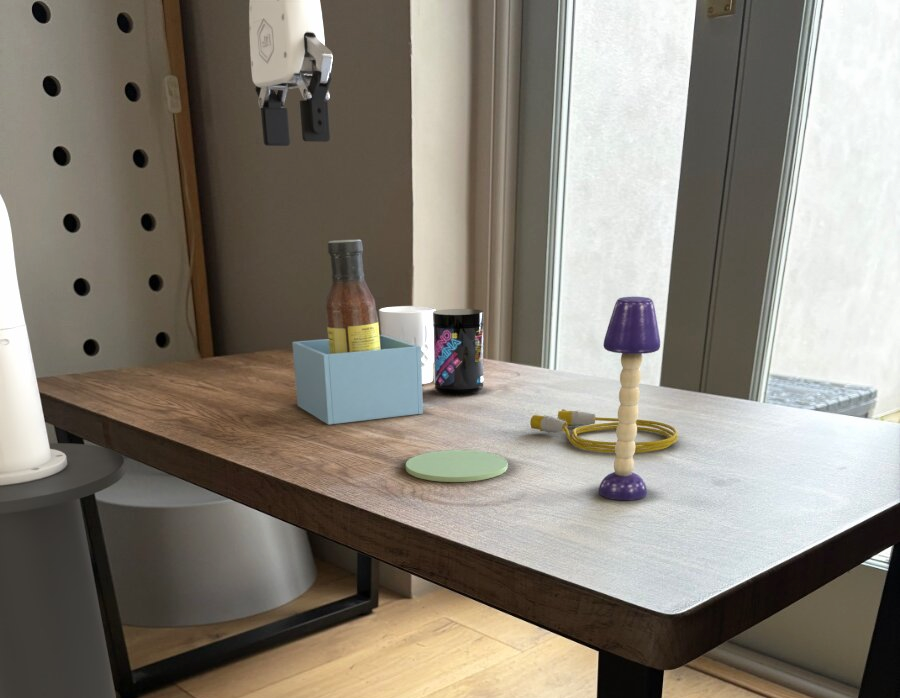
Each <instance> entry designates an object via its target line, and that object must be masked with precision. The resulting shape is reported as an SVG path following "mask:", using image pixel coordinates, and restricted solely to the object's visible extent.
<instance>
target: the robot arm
mask: <svg viewBox="0 0 900 698" xmlns="http://www.w3.org/2000/svg"><path fill="white" fill-rule="evenodd" d="M248 4H249V7H248V9H249V10H248V15H249V16H248V27H249V28H248V29H249V52H250V54H249V55H250V71H251V79H252V83H253V84H254V86H255V88H254V89H255V93H256V95H257V97H258V106H259V108H260V115H261V125H262V137H263V144H264V145H265V146H267V147H274V146H275V147H278V146H279V147H287V146H289V145H291V139H290V126H289V113H288V111H289V110H288V108H287V107H285V103H286V98H287V95H288V90H292V89H297V88H298V90H299V91H300V95H301V96H302V98H303V99H304V100H303V99H301V100H299V109H300V123H301V124H300V126H301V137H302V141H304V142H310V143H311V142H315V143H316V142H317V143H318V142H319V143H320V142H321V143H322V142H323V143H325V142H326V143H327V142H329V141H330V139H331V134H330V121H329V117H330V116H329V103H328V101H329V100H330V98H331V97H330V96H331V95H330V90H329V88H330V84H331V81H332V75H331V73H332V72H331V71H332V64H333V60H334V59H333V58H334V55H333V52H332V50H330V49H329V47H328V46H326V44H325V41H326V40H325V39H326V38H325V30H324V22H323V12H322V5H321V0H249V3H248ZM276 91H277V92H276ZM12 233H13V232H12V227H11V222H10V217H9V213H8V209H7V206H6V204H5V201H4V199H3V197H2V194H0V486H5V485H12V484H19V483H25V482H30V481H34V480H39V479H42V478H45V477H49V476H51V475H54V474H56V473H58V472H60V471H62V470H63V469H65V468H66V466H67V465H68V464H67V457H66V455H65V454H64V453H63V452H61V451H58V450H54V449H50V447H49V443H50V441H49V437H48V431H47V427H46V426H47V425H46V422H45V417H44V411H43V410H44V409H43V405H42V399H41V395H40V391H39V385H38V380H37V374H36V369H35V364H34V359H33V354H32V349H31V344H30V338H29V334H28V333H29V332H28V328H27V323H26V319H25V315H24V311H23V310H24V309H23V305H22V298H21V294H20V293H21V292H20V287H19V281H18V274H17V267H16V259H15V250H14V241H13V240H14V239H13V235H12Z"/></svg>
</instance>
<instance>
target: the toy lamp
mask: <svg viewBox="0 0 900 698" xmlns="http://www.w3.org/2000/svg"><path fill="white" fill-rule="evenodd" d="M605 332H606V333H605V336H604V340H603V349H604V350H606V351H608V352H611V353H615V354H621V356H620V364H621V367H622V369H621V371H620V374H619V383H620V385H621V387H620V389H619V393H618V401H619V404H620V405H619V406H618V409H617V418H618V420H619V421H618V422H619V423H618V425H616V426H617V429H615V434H616V438H617V440H616V445H614V446H615V453H614V454H615V456H616V457H615V459H614V462H613V470H614V471H613V472H610V473H608V474H607V475H605V476H604V478H603V479H602V480H601V482H600V484H599V487H598V494H599V495H601V497H603V498H606V499H610V500H617V501H635V500H641V499H643V498H645V497H647V495H648V491H647V490H648V489H647V485H646V482H645V481H644V479H643V478H642V477H641V476H640V475H639V474H637V473H635V472H634V471H633V470H634V467H635V460H634V455H635V454H636V453H635V439H636V437H637V434H638V430H637V427H638V426H637V425H636V423H637V422H636V420H638V418H639V414H640V413H639V411H640V410H639V406H638V403H639V401H640V397H641V392H640V388H639V385H640V383H641V380H642V372H641V368H640V367H641V366H642V363H643V354H652V353H656V352H658V351H659V350H660V349H661V337H660V331H659V325H658V318H657V313H656V308H655V302H654V300H653V299H651V297H645V296H624V297H619V298H618V299H616V301H615V303H614V307H613V309H612V313H611V316H610V319H609V323H608V326H607V329H606V331H605ZM635 422H636V423H635Z"/></svg>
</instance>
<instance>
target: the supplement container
mask: <svg viewBox="0 0 900 698" xmlns="http://www.w3.org/2000/svg"><path fill="white" fill-rule="evenodd" d="M484 325H485V322H484V311H483V310H482V309H475V308H447V309H446V308H445V309H438V310H435V311H433V342H434V362H433V380H434V383H433V385H434V388H435V391H436V392H437V393H438V394H440V395H444V396H454V397H457V396H459V397H461V396H472V395H476V394H479V393H481V392H482V390H483V389H484Z"/></svg>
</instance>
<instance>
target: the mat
mask: <svg viewBox="0 0 900 698" xmlns="http://www.w3.org/2000/svg"><path fill="white" fill-rule="evenodd" d="M508 466H509V463H508V461H507V459H506V458H505V457H504V456H501V455H499V454H496V453H492V452H488V451H482V450H473V449H469V450H468V449H446V450H436V451H429V452H425V453H421V454H418V455H415V456H413V457H411V458H409V459H408V460H406V462H405V471H406V473H408V474H409V475H410V476H412V477H414V478H417V479H422V480H425V481H432V482H442V483H467V482H477V481H483V480H488V479H489V480H490V479H493V478H495V477H496V478H497V477H499V476H501V475H503V474H504V473H505V472H506V471H508Z"/></svg>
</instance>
